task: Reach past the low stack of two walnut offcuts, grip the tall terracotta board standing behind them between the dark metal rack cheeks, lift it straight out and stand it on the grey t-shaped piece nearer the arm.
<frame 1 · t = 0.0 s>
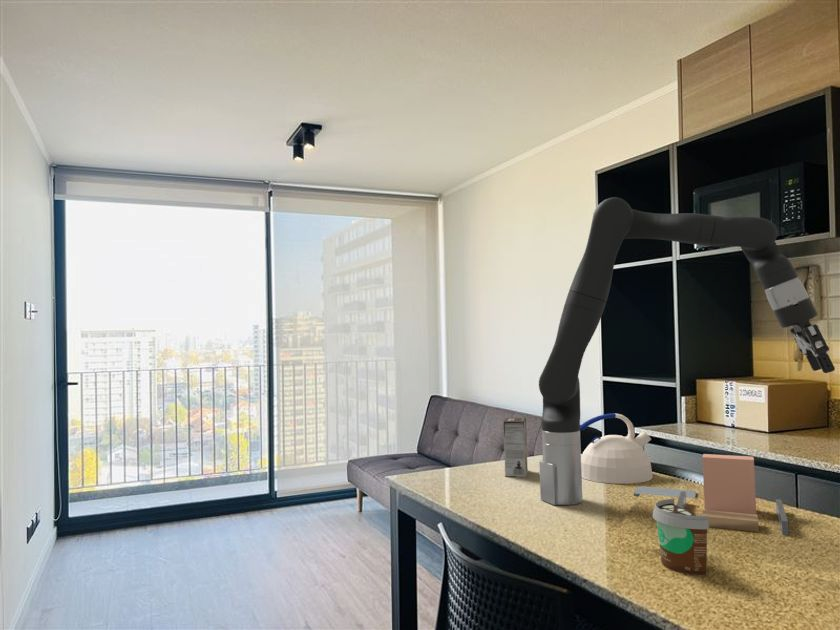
hand: (824, 370, 135), 31 cm above the table, tool tilted 20°, fingers open, 8 cm apart
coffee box: (516, 474, 184), on the table
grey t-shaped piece: (665, 494, 156), on the table
rack: (730, 522, 132), on the table
offcut lower: (730, 535, 125), on the table, touching offcut top
kettle: (615, 477, 178), on the table
food container: (675, 566, 108), on the table
tall sheet: (730, 516, 136), on the table
offcut top: (730, 525, 125), point 1 cm above the table, touching offcut lower
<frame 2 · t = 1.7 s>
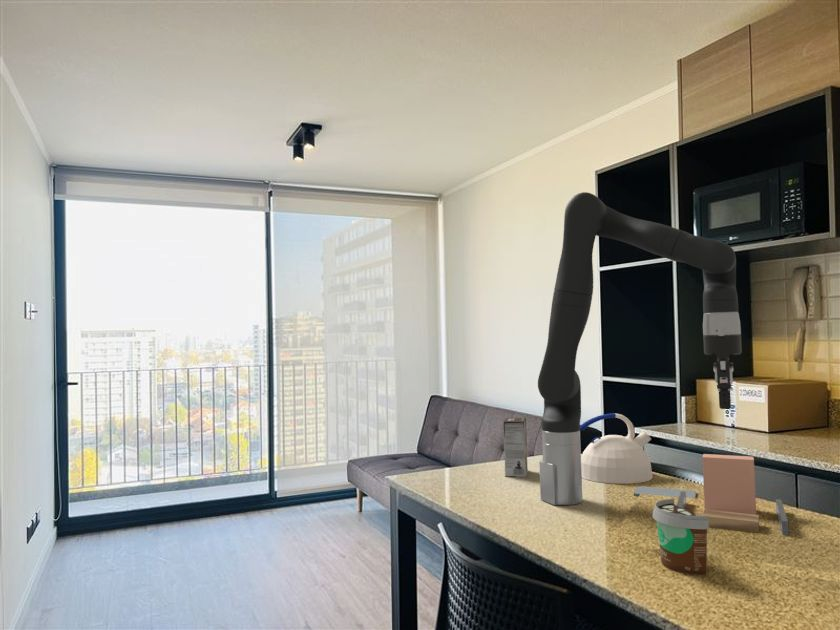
hand: (725, 406, 137), 24 cm above the table, tool pointing down, fingers open, 8 cm apart
nothing on the table moved.
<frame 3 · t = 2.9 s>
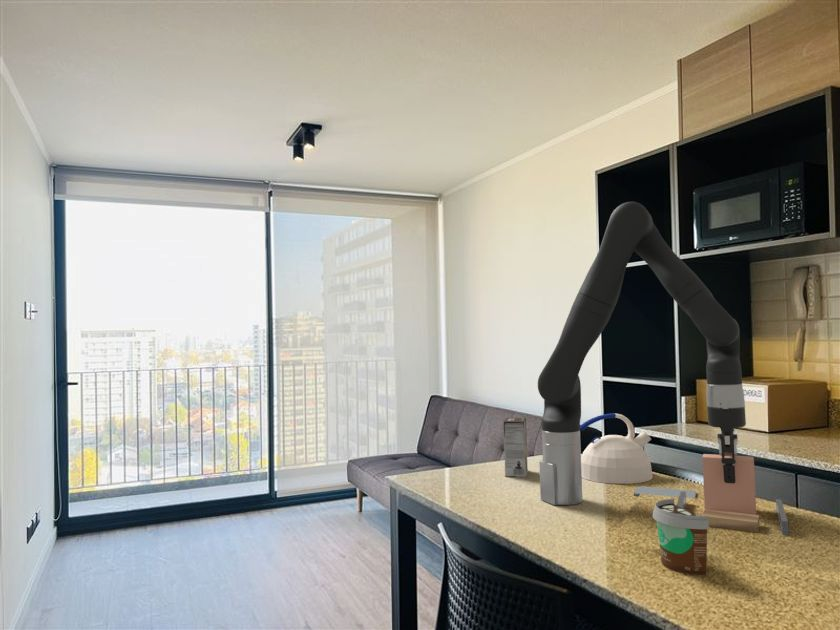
hand: (729, 478, 136), 8 cm above the table, tool pointing down, fingers open, 8 cm apart
nothing on the table moved.
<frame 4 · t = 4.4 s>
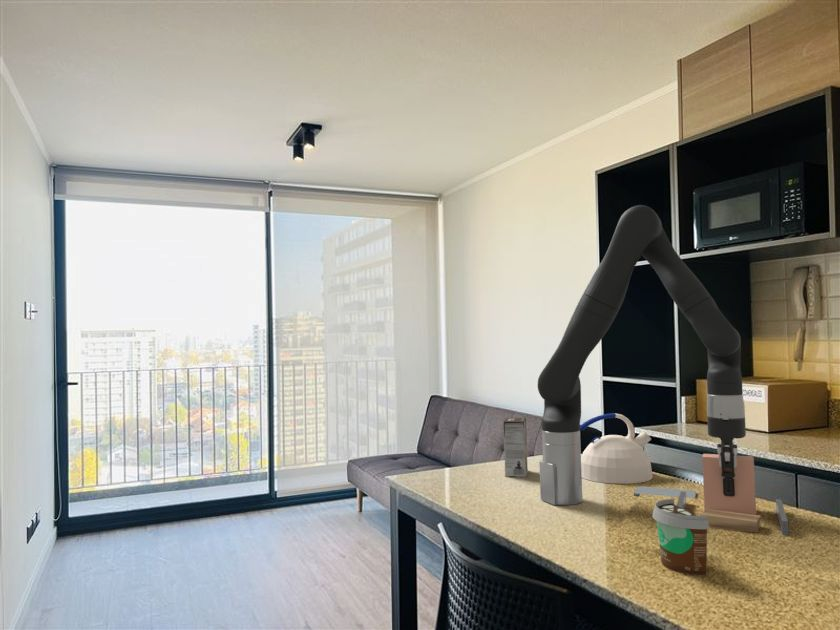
hand: (729, 493, 136), 5 cm above the table, tool pointing down, fingers closed on tall sheet, 4 cm apart
tall sheet: (730, 516, 136), on the table, touching gripper
everything else where it was.
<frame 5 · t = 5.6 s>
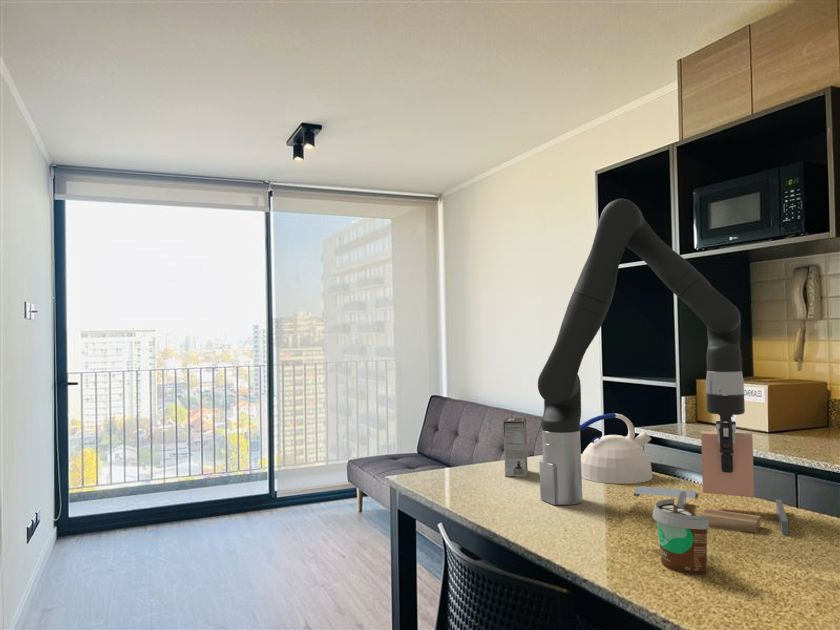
hand: (727, 469, 137), 10 cm above the table, tool pointing down, fingers closed on tall sheet, 4 cm apart
tall sheet: (728, 493, 136), point 5 cm above the table, touching gripper
everything else where it was.
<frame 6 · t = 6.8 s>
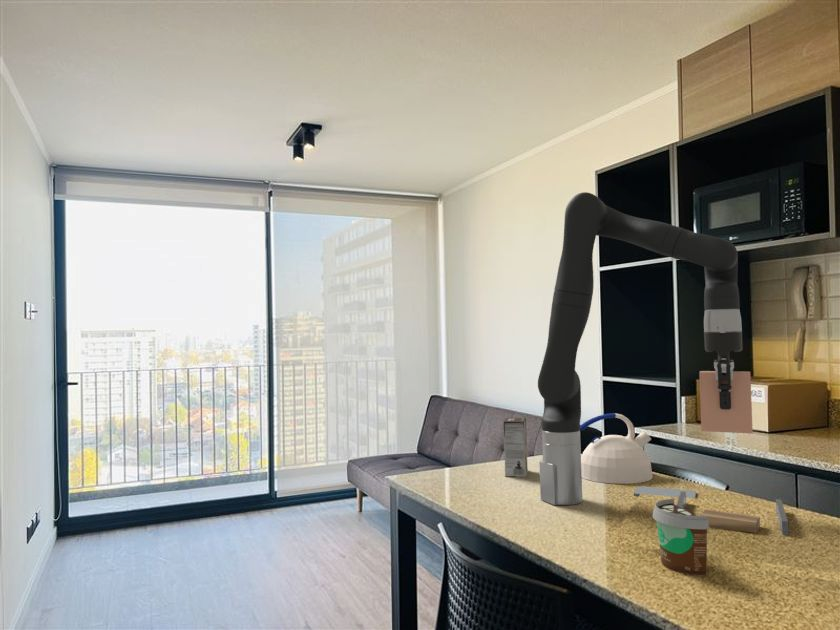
hand: (725, 407, 137), 24 cm above the table, tool pointing down, fingers closed on tall sheet, 4 cm apart
tall sheet: (726, 430, 137), point 19 cm above the table, touching gripper
everything else where it was.
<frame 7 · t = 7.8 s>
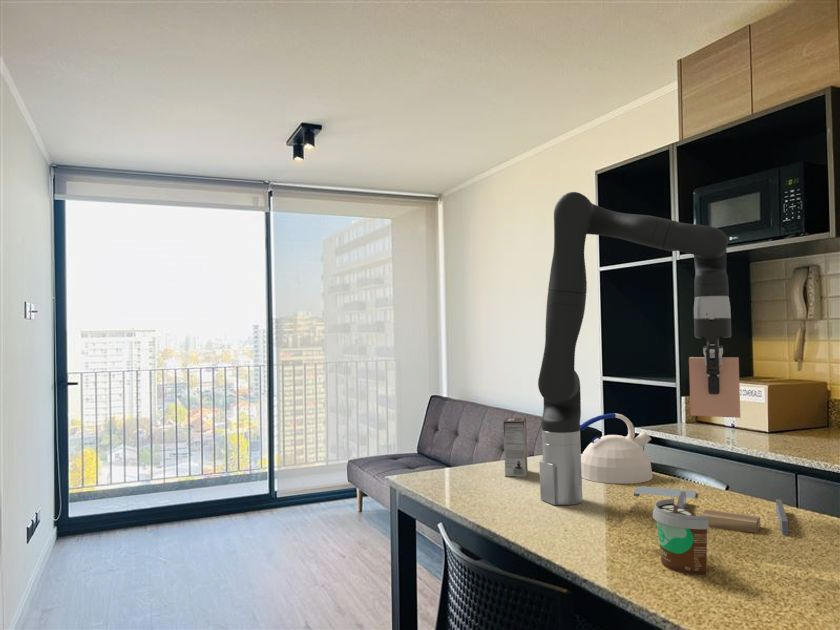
hand: (714, 392, 140), 27 cm above the table, tool pointing down, fingers closed on tall sheet, 4 cm apart
tall sheet: (715, 415, 140), point 22 cm above the table, touching gripper
everything else where it was.
when the fingers open (7 cm above the table, at t = 12.3 s): tall sheet drops 2 cm, resting on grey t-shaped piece.
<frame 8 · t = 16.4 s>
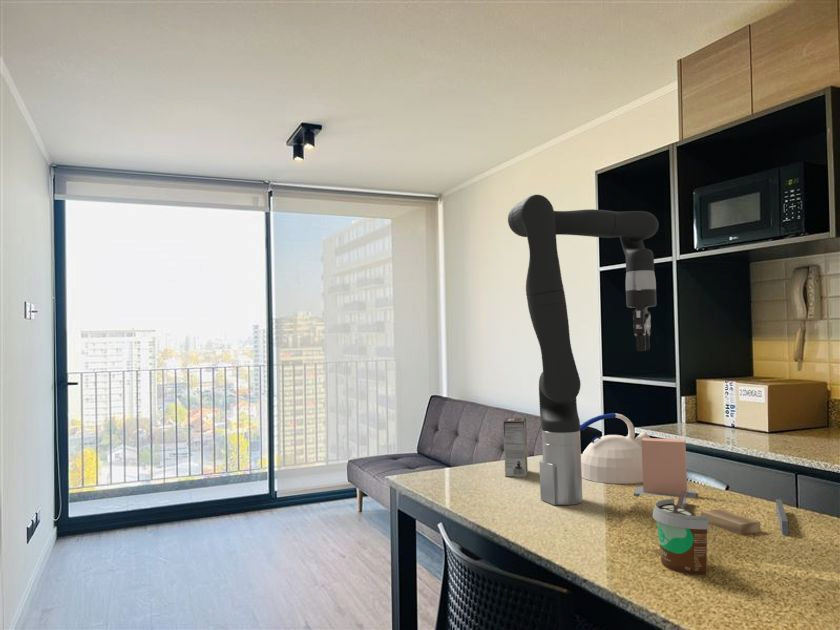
hand: (643, 350, 163), 36 cm above the table, tool pointing down, fingers open, 8 cm apart
tall sheet: (665, 492, 156), point 1 cm above the table, touching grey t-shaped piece
at the end: tall sheet inside the target area on the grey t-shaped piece (0.1 cm from its centre), point 0.6 cm above the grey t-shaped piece's base; tall sheet tilted 0°; offcut top moved 0.9 cm from its start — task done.
